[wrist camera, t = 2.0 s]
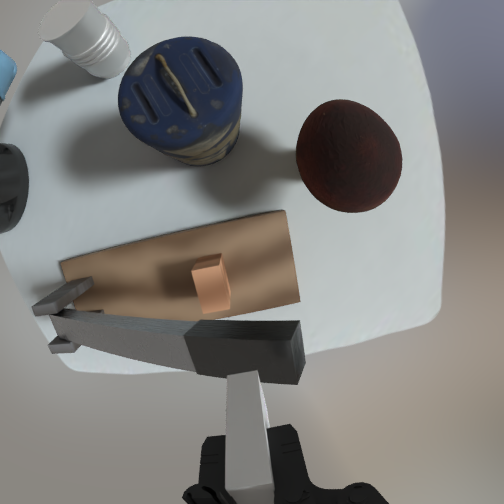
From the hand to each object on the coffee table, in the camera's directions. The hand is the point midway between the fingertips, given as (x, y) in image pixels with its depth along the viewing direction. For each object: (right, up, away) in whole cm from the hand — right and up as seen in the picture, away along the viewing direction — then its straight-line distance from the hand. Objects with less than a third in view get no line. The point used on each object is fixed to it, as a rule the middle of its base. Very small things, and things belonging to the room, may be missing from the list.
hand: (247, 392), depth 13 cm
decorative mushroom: (+9, +18, +22) cm, 30 cm away
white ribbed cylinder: (-20, +34, +16) cm, 43 cm away
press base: (-10, +3, +24) cm, 26 cm away
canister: (-6, +22, +20) cm, 31 cm away
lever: (-10, 0, +9) cm, 14 cm away
